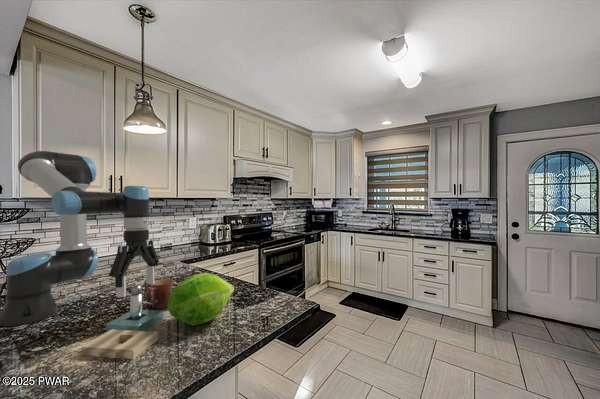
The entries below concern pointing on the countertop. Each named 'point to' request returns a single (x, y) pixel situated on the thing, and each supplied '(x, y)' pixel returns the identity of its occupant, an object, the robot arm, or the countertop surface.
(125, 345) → the wooden square-hole plate
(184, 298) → the lettuce
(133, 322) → the socket
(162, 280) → the mug
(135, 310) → the metal cylinder rod
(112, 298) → the countertop surface
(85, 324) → the countertop surface
